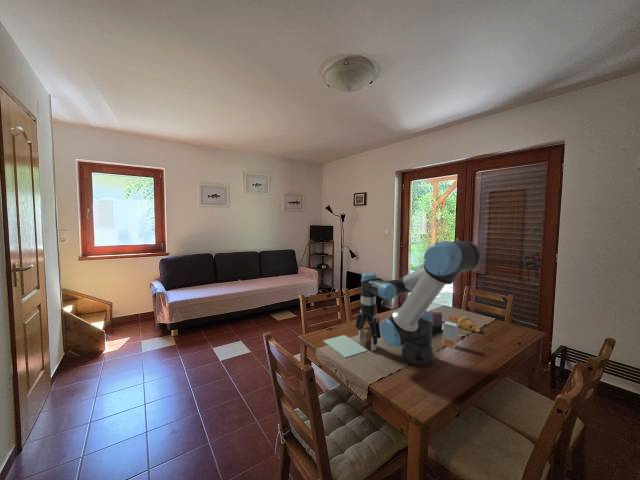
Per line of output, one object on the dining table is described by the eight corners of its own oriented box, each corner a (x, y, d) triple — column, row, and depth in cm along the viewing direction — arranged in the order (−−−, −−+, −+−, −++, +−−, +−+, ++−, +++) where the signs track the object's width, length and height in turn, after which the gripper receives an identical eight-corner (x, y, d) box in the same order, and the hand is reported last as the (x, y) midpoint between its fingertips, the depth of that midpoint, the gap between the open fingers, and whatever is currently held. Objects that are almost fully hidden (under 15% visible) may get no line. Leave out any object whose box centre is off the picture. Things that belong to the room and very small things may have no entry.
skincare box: (442, 345, 141) (443, 323, 140) (444, 342, 144) (446, 320, 143) (454, 349, 137) (455, 326, 136) (457, 346, 140) (458, 323, 139)
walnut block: (374, 346, 139) (374, 329, 138) (365, 349, 136) (365, 332, 135) (369, 343, 142) (369, 326, 142) (360, 346, 139) (360, 329, 139)
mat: (367, 350, 134) (367, 350, 134) (345, 358, 127) (345, 357, 127) (344, 335, 151) (344, 334, 151) (322, 341, 144) (322, 340, 144)
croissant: (482, 338, 158) (487, 326, 158) (473, 333, 153) (478, 320, 154) (451, 324, 177) (456, 313, 178) (442, 319, 173) (447, 308, 173)
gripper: (389, 308, 130) (387, 353, 132) (360, 296, 149) (359, 335, 150) (377, 311, 126) (376, 357, 128) (349, 298, 145) (348, 338, 147)
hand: (367, 345), depth 139 cm, fingers open, 9 cm apart
